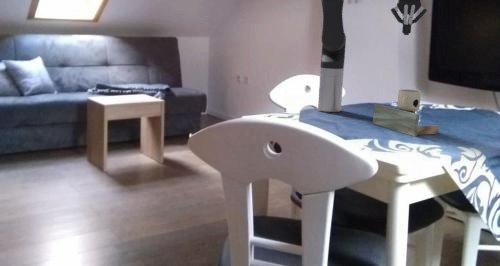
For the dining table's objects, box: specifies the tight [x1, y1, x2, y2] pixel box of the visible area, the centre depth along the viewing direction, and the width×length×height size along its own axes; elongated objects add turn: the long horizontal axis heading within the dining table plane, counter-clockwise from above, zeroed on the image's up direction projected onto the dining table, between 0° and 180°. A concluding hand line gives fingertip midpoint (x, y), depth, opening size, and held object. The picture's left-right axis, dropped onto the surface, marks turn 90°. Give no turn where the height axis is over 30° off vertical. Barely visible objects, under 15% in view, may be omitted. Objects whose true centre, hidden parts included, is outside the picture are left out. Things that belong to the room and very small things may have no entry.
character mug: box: [396, 89, 422, 113], centre depth 162 cm, size 11×7×13 cm, turn 144°
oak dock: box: [372, 103, 440, 137], centre depth 163 cm, size 11×22×7 cm, turn 21°
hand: (406, 34), depth 178 cm, fingers closed
